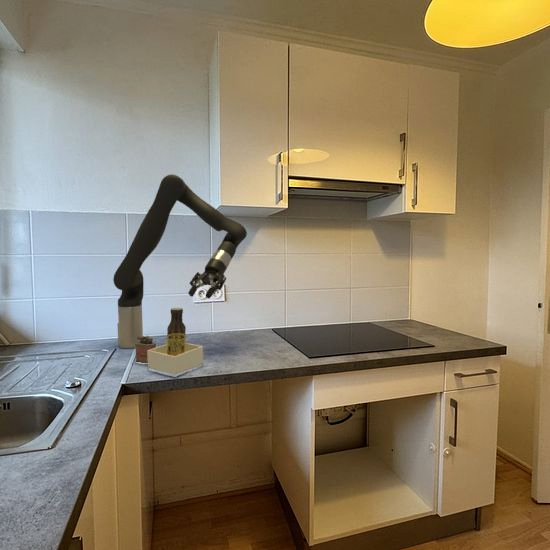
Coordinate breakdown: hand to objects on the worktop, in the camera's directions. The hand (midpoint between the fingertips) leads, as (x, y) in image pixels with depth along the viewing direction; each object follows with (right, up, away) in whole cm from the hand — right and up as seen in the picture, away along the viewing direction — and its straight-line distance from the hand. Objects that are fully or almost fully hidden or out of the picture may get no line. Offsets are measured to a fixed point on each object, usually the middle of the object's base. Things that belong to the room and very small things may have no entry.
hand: (198, 296), depth 124 cm
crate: (-6, -24, -8) cm, 27 cm away
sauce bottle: (-6, -24, -8) cm, 26 cm away
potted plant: (-18, -24, -4) cm, 30 cm away
